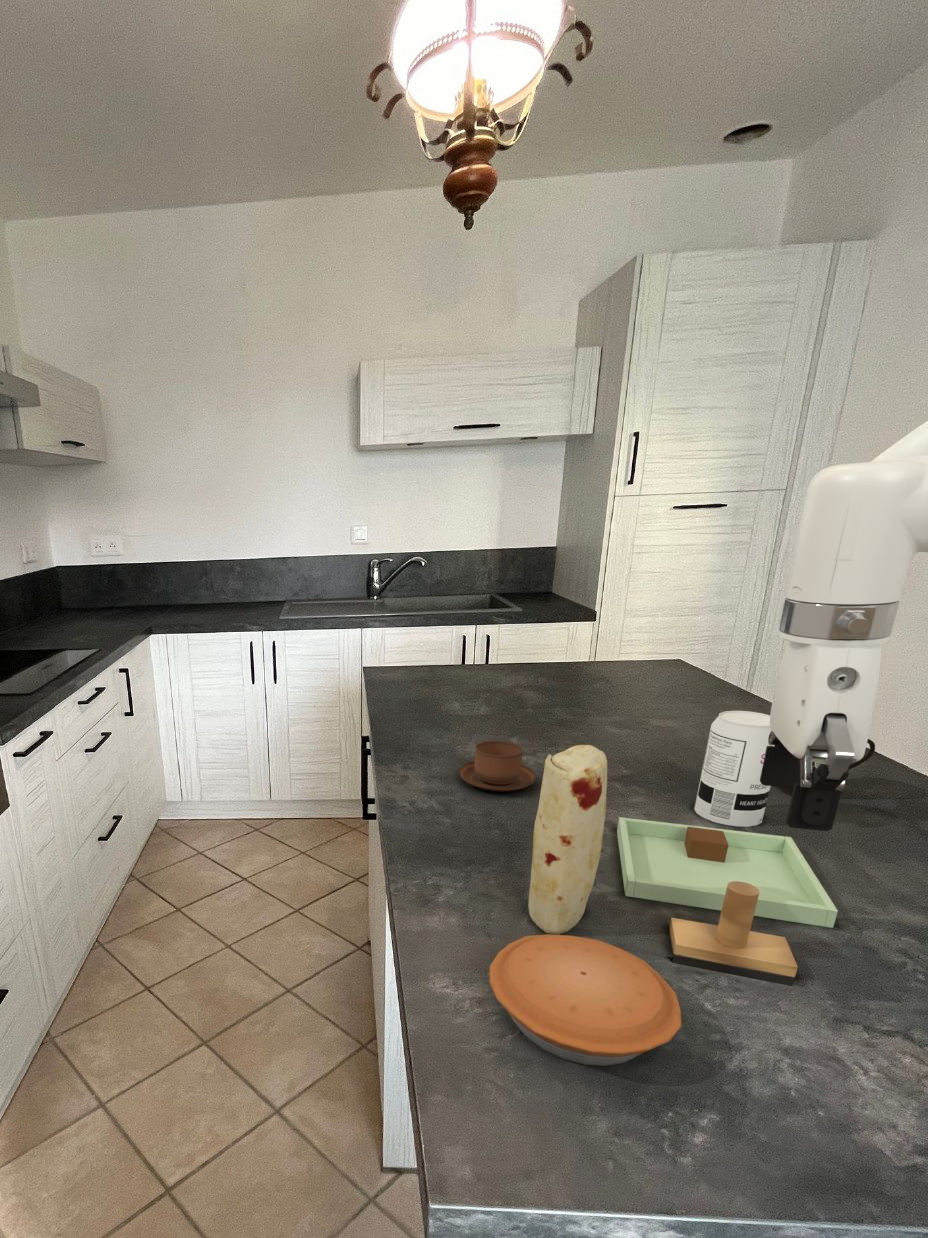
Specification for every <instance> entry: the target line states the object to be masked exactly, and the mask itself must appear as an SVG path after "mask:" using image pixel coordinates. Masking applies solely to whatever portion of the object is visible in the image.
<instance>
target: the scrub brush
mask: <svg viewBox="0 0 928 1238" xmlns="http://www.w3.org/2000/svg"><path fill="white" fill-rule="evenodd" d="M759 893H760V891H759V889H758V888H756V887H755V886H753V885H751V884H748V883H745V882H739V881H733V882H729V883H728V884H727V889H726V893H725V897H724V902H723V906H722V910H720V916H719V920H718V923H717V924H711V923H706V922H701V921H700V922H699V921H694V920H688V919H684V918H683V919H682V918H676V917H670V920H669V927H668V933H669V939H670V944H671V952H672V956H671V963H673V964H677V965H683V966H688V967H694V968H698V969H704V970H709V971H714V972H718V973H724V974H730V975H734V976H738V977H739V976H740V977H744V978H750V979H755V980H761V981H766V982H769V983H776V984H781V985H786V986H791V987H792V986H793V985H794V982H795V979H796V975H797V972H798V968H799V967H798V964H797V962H796V960H795V957H794V955H793V952H792V950H791V948H790V946H789V943H788V939H787V938H786V937H785V936H779V935H776V934H775V935H774V934H770V933H769V934H768V933H763V932H757V931H752V930H751V928H752V925H753V920H754V917H755V916H754V913H755V909H756V905H757V901H758V897H759Z"/></svg>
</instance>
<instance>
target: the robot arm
mask: <svg viewBox="0 0 928 1238" xmlns="http://www.w3.org/2000/svg"><path fill="white" fill-rule="evenodd" d="M794 547H795V548H794V553H793V558H792V562H791V568H790V572H789V577H788V583H787V587H786V593H785V597H784V602H783V607H782V612H781V616H780V621H779V627H778V630H777V637H778V638H779V639H781V640H784V641H787V642H786V645H785V649H784V650H783V657H782V660H781V663H780V667H779V671H778V675H777V679H776V683H775V687H774V693H773V696H772V702H771V707H770V708H771V709H770V714H769V715H770V727H771V729H772V731H771V733H770V734H769V738H768V744H769V745H774V746H767V748H766V752H765V757H764V762H763V767H762V771H761V776H760V782H761V784H762V785H766V786H771V787H778V786H779V787H792V788H794V789H793V793H792V795H791V797H790V802H789V807H788V810H787V815H786V820H785V824H786V825H787V826H788V827H789V828H792V829H801V830H808V831H809V830H812V831H821V832H829V831H831V830H832V829H833V826H834V824H835V823H834V822H835V819H836V814H837V811H838V808H839V803H840V801H841V800H840V799H841V795H842V792H843V791H844V789H845V786H846V779H847V778H849V775H850V772H849V771H850V769H849V770H848V768H849V766H850V765H851V764H853V763H855V762H857V761H859V760H861V759H862V758H863V757H864V756H865V753H866V749H867V745H868V743H867V740H868V739H869V735H870V730H871V725H872V721H873V715H874V711H875V706H876V701H877V694H878V688H879V682H880V674H881V665H882V645H885V644H888V643H889V642H890V641H891V636H892V633H893V629H894V624H895V621H896V617H897V614H898V613H897V612H898V609H899V605H900V601H901V597H902V594H903V589H904V586H905V582H906V577H907V574H908V572H909V571H908V570H909V566H910V564H911V559H912V557H913V556H914V555H915V554H917V553H928V420H927V421H925V422H924V423H922V424H921V425H919V426H917V427H916V428H915V429H913V430H912V431H910V432H908V433H907V434H906V435H904V436H903V437H902V438H901V439H899V440H897V441H896V442H894V443H893V444H892V445H890V446H888V447H887V448H886V449H885V450H884V451H882V452H881V453H880V454H878V455H877V456H875V458H873V459H872V460H871V461H866V462H865V461H864V462H852V463H842V464H834V465H830V466H827V467H824V468H822V469H821V470H819V471H817V472H816V474H814V476H813V477H812V478H811V480H810V482H809V484H808V486H807V491H806V495H805V499H804V504H803V509H802V513H801V518H800V524H799V528H798V533H797V538H796V543H795V546H794ZM810 749H825V750H828V752H825V751H810ZM812 762H824V763H826V764H825V765H823V764H820V765H819V766H818V767H817V768H816V770H815V771H814V772H813V773H812Z"/></svg>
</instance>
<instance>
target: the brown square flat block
mask: <svg viewBox="0 0 928 1238" xmlns="http://www.w3.org/2000/svg"><path fill="white" fill-rule="evenodd" d="M684 845H685V849H686V852H687V856H688V858H695V859H702V860H709V861H716V862H723V863H725V859H726V854H727V850H728V842H727V839H726V837H725V834H724V832H723V831H718V830H710V829H703V828H695V827H687V832H686V837H685V842H684Z"/></svg>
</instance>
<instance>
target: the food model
mask: <svg viewBox="0 0 928 1238" xmlns="http://www.w3.org/2000/svg"><path fill="white" fill-rule="evenodd" d="M541 780H542V781H541V786H540V787H541V788H540V793H539V802H538V806H537V811H536V816H535V820H534V827H533V836H532V837H533V840H532V858H531V859H532V860H531V871H530V881H529V882H530V883H529V891H528V914H529V916H530V918H531V920H532V921H533V922H534V923H535V924H536V926H537V927H539V928H540V929H541V930H542V931H543V932H544V933H545V934H552V935H562V934H564V933H566V932H569V931H570V930H571V929H573V928H574V927H575V926H576V925H577V924H578V923H580V921H581V919H582V918H583V915H584V914H585V911H586V906H587V903H588V899H589V896H590V894H591V892H592V890H593V886H594V882H595V879H596V876H597V871H598V867H599V863H600V858H601V853H602V846H603V845H602V844H603V837H604V827H605V821H606V813H607V811H606V810H607V787H608V758H607V756H606V754H605V752H604V751H602V750H601V749H599V748H598V747H595V746H594V745H591V744H578V745H574V746H570V747H568V748H566V749H565V750H563V751H561V752H558V753H555V754H554V755H552V754H550V753H549V754H548V755H547V757H546V758H545V760H544V768H543V774H542V779H541Z"/></svg>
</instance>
